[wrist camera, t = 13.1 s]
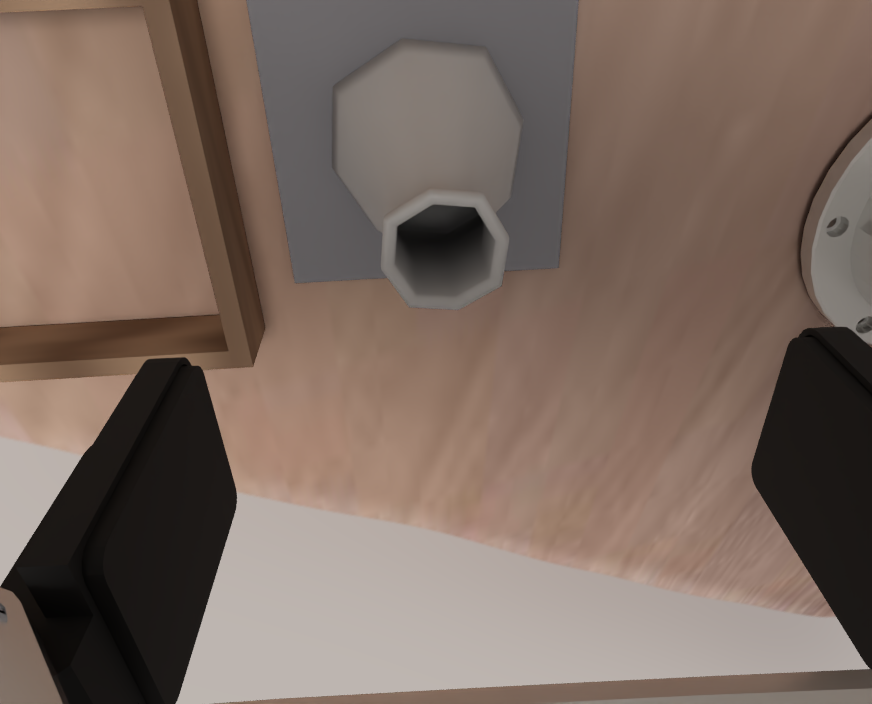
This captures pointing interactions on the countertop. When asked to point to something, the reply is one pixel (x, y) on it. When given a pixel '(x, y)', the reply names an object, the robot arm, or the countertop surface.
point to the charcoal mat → (355, 46)
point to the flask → (431, 166)
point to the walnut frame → (215, 216)
